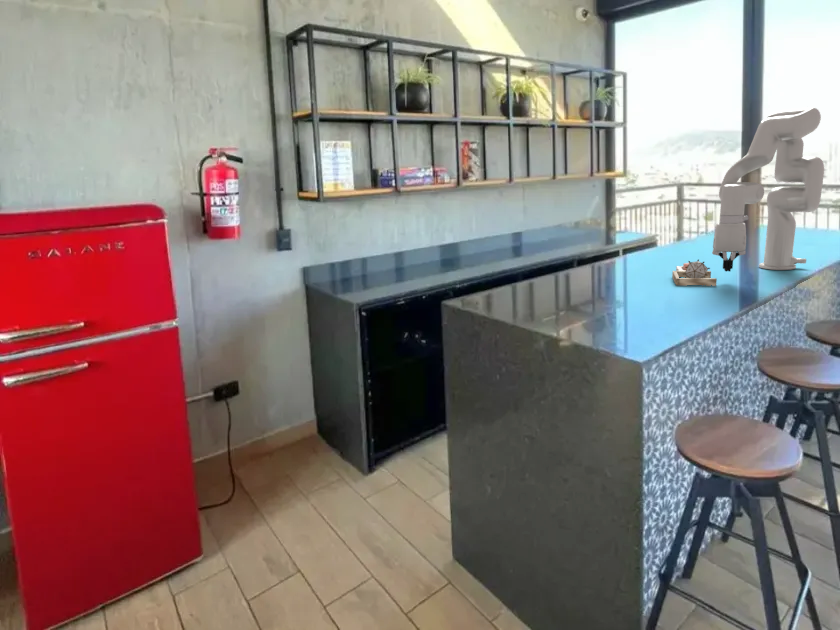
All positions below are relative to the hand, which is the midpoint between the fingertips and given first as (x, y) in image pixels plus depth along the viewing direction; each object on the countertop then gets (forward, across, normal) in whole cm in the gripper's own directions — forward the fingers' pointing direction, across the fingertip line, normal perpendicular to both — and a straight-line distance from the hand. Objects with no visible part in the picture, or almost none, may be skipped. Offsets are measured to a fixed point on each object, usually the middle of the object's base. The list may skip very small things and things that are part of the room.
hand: (727, 270), depth 211 cm
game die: (+4, +10, +1) cm, 11 cm away
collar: (+4, +11, -13) cm, 17 cm away
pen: (+4, +10, 0) cm, 11 cm away
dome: (+3, +11, -13) cm, 17 cm away
